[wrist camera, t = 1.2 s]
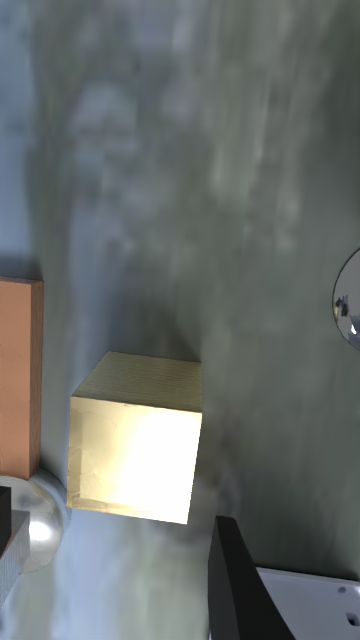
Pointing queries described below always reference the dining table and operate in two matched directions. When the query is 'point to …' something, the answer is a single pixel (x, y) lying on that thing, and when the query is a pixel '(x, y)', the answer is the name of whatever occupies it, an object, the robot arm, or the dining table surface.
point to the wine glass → (348, 301)
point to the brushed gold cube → (135, 437)
